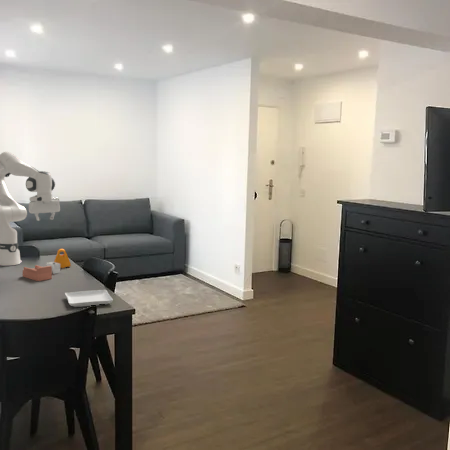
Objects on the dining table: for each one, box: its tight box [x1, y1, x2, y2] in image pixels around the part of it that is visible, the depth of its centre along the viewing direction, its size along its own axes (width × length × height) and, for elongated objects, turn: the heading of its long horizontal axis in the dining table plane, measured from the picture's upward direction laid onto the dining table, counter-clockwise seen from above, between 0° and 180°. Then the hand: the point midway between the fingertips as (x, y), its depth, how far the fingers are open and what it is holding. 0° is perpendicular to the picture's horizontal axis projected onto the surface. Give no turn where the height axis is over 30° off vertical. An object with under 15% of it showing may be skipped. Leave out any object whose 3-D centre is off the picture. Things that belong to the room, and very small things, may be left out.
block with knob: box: [45, 261, 61, 275], centre depth 313 cm, size 8×5×6 cm, turn 53°
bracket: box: [53, 248, 71, 269], centre depth 330 cm, size 11×7×12 cm, turn 113°
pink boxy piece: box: [22, 264, 53, 282], centre depth 297 cm, size 16×9×8 cm, turn 53°
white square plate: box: [64, 289, 114, 308], centre depth 252 cm, size 21×21×3 cm
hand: (45, 220), depth 310 cm, fingers open, 8 cm apart
